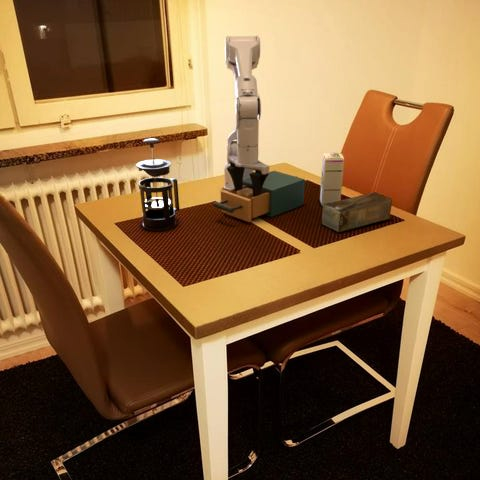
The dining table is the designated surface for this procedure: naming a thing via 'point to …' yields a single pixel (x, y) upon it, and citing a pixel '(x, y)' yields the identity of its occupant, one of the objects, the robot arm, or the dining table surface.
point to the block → (246, 193)
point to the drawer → (244, 204)
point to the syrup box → (331, 177)
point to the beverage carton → (356, 211)
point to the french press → (157, 208)
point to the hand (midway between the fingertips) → (247, 193)
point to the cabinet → (282, 191)
